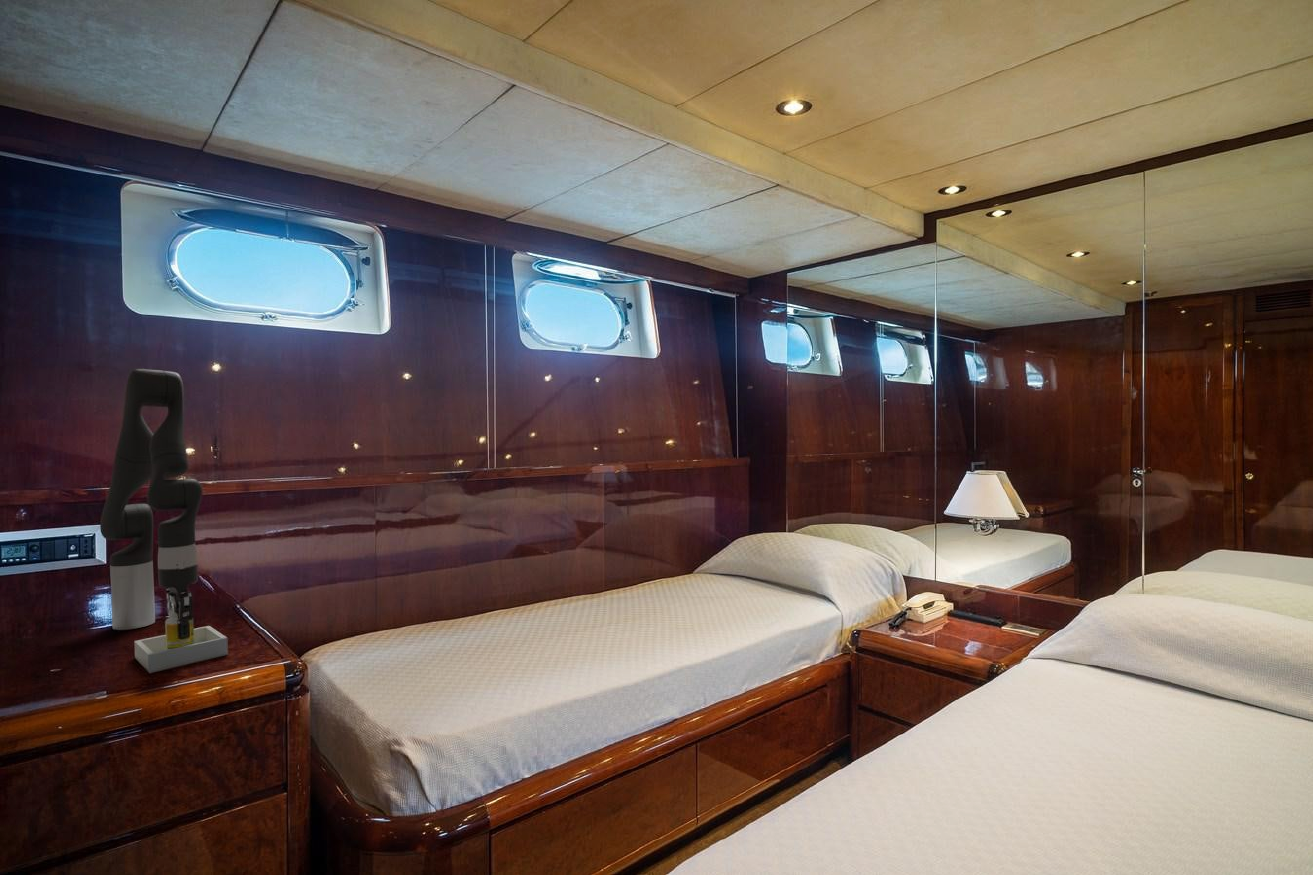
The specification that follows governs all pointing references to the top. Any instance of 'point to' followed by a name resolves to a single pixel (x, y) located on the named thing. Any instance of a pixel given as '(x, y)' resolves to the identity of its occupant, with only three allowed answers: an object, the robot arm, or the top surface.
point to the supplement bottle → (176, 632)
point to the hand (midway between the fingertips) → (180, 635)
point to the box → (180, 650)
